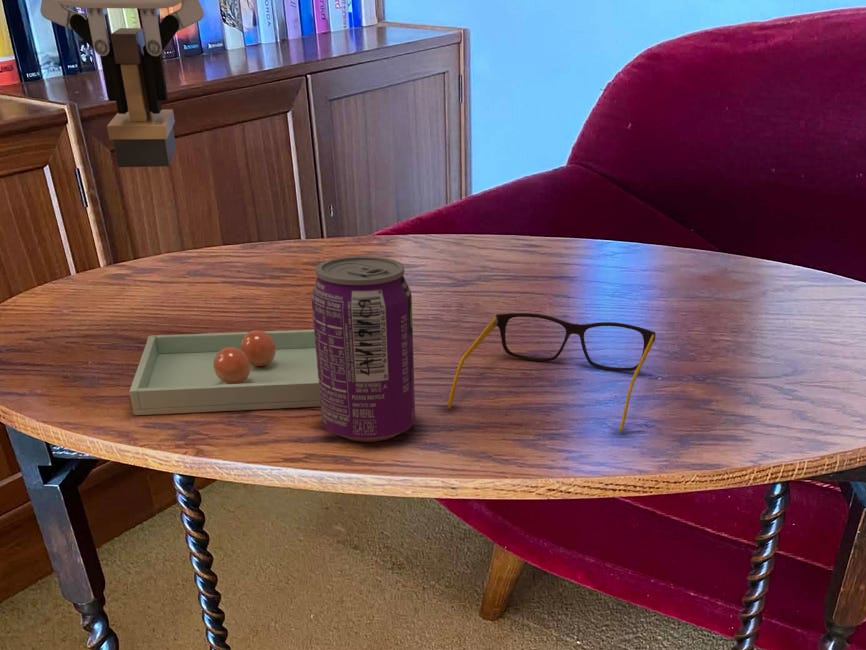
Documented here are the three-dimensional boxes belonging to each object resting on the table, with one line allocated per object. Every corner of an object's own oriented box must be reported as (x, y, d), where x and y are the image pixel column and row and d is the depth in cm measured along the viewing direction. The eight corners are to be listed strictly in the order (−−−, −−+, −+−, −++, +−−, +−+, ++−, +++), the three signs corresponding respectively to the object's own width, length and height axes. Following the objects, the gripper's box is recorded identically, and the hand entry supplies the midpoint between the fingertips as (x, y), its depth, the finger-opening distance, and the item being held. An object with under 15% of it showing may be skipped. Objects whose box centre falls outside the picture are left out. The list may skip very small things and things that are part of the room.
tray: (134, 415, 75) (129, 391, 74) (153, 357, 86) (148, 335, 85) (366, 404, 78) (365, 380, 77) (357, 349, 88) (355, 327, 87)
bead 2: (242, 372, 82) (237, 337, 80) (243, 360, 84) (238, 326, 82) (277, 371, 82) (273, 336, 81) (278, 358, 85) (274, 324, 83)
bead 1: (215, 391, 78) (209, 355, 77) (217, 377, 81) (212, 342, 79) (252, 389, 79) (247, 353, 77) (253, 376, 81) (249, 341, 79)
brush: (114, 167, 77) (89, 35, 71) (126, 148, 84) (104, 26, 79) (171, 167, 77) (151, 35, 72) (178, 147, 85) (160, 27, 79)
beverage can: (433, 423, 75) (430, 263, 68) (380, 456, 70) (371, 287, 63) (359, 404, 78) (349, 249, 71) (303, 434, 73) (287, 271, 66)
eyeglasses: (652, 371, 85) (658, 326, 83) (622, 435, 74) (627, 384, 71) (498, 352, 88) (499, 308, 86) (446, 410, 77) (446, 361, 75)
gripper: (-42, -195, 64) (30, 119, 74) (203, -184, 66) (238, 117, 77) (-16, -183, 70) (46, 106, 80) (208, -174, 72) (239, 105, 83)
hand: (140, 109), depth 79 cm, fingers closed on brush
